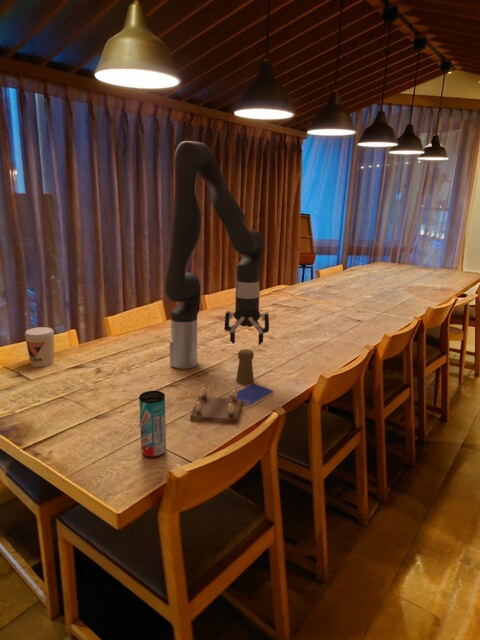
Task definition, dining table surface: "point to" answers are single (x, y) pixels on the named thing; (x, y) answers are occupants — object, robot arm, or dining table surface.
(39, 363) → the coffee cup
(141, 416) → the beverage can
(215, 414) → the walnut stand
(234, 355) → the dining table surface
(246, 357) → the cork
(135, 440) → the dining table surface
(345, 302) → the dining table surface
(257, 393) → the hard drive
